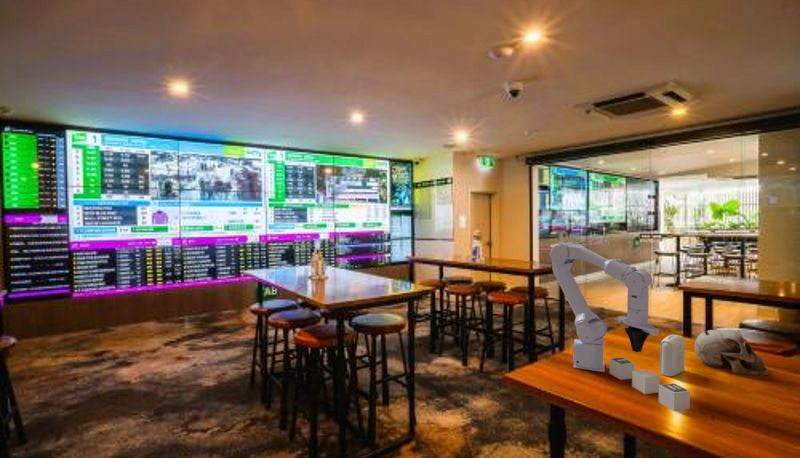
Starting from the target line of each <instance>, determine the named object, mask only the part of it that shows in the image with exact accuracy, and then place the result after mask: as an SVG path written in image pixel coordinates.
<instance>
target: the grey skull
mask: <svg viewBox="0 0 800 458" xmlns="http://www.w3.org/2000/svg"><path fill="white" fill-rule="evenodd" d="M694 342H695V343H694V354H695V355H696V356H697V357H698V358H700V360H701V361H702V363H703V364H705V365H706V366H707V365H708V366H711V367H713V368H720V369H721V368H722V369H726V368H727V369H729V370H731V373H733V374H742V375H747V376H758V377H761V376H762V377H764V376H771V371H770V370H769V369H768V368H767V367H765V363H764V361H763V359H762V357H760V356H759V355H758V354H756V353H755V350H754V348H753V349H752V345H750V344H749V342H748V341H747V339H746V338H744V337H743V335H742V334H740V333H739V332H736V331H734V330H730V329H710V330H709V329H708V330H706V331H703V332H701V333H700V334H699V335H698V336H697V338H696V339H695V341H694Z"/></svg>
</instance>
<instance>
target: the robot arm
mask: <svg viewBox="0 0 800 458" xmlns="http://www.w3.org/2000/svg"><path fill="white" fill-rule="evenodd" d="M549 257H550V259H551V264H552V265H551V268H552V274H554V276H555V279H556V280H557V283H558V284H559V286H560V288H561V290H562V292H563V295H564V296H565V298H566V300H567V302H568V303H569V307H570V308H571V309H572V312H573V314H574V316H575V319H574V326H575V328H576V334H577V338H575V339H574V340H573V354H572V360H573V368H574V369H582V370H587V371H594V372H601V373H605V368H606V367H605V362H604V345H605V344H604V337H605V336H606V335H607V333H608V326H607V325H606V323H604V321H602V319H600V317H599V316H598V315H597V314H596V313H595V312H594V311H592V310H591V308H590V306H589V304H588V302H587V300H586V298H585V296H584V295H583V292H582V291H581V288H580V287H579V286H578V283H577V281H576V280H575V278H574V275H573V274H572V272H571V268H572V266H573V263H574V262H575V261H576V260H583V261H585V262H587V263H590V264H592V265H594V266H597V267H599V268H601V269H603V271H604V274H605V275H608V276H610V277H611V278H613V279H615V280H616V281H619V282H620V283H622V284H624V285H625V286H626V288H627V303H626V304H627V305H626V307H627V310H626V313H627V314H626V315H627V316H623V315H622V316H618V318H617V319H618V321H617V322H618V323H619V324H623V325H626V326H628V327H625V328H624V331H625V333H626V335H627V336H628V339H629V343H630V346H631V349H632V351H633V352H634V353H640V352H642V351H643V347H644V345H645V342H646V341H647V338H648V337H649V336H653V337H655V336H659V335H660V329H659V328H657V327H655V326H654V325H652V324H651V322H650V321H649V306H650V305H649V304H650V303H649V302H650V301H649V297H650V295H649V291H650V290H649V289H650V288H649V286H650V285H651V284H652V283H653V282H652V281H653V277H652V275H651V274H650V272H648V271H646V270H645V269H641V268H640V269H637V267H636V266H631V265H629V264H626V263H624V262H622V261H623V260H622V259H621V258H611V259H607V258H605V257H603V256H602V255H600V254H598V253H596V252H595V251H593V250H591V249H589V248H587V247H585V246H583V245H582V244H579V243H577V242H574V241H568V242H564V243H563V242H562V243H559V242H558V243H555V244H554V245H552V248H551V250H550V252H549ZM578 338H579V339H578Z"/></svg>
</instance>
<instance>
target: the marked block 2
mask: <svg viewBox="0 0 800 458" xmlns="http://www.w3.org/2000/svg"><path fill="white" fill-rule="evenodd" d="M690 397H691V391H690V390H688V389H686V388H684V387H683V386H680V385H678V384H676V383H666V384H665V383H664V384H660V385H659V392H658V403H659V404H661V405H663V406H665V407H666V408H668V409H669V410H672V412H675V411H683V410H684V411H686V410H690V403H691V399H690Z"/></svg>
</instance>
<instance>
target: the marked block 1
mask: <svg viewBox="0 0 800 458" xmlns="http://www.w3.org/2000/svg"><path fill="white" fill-rule="evenodd" d="M632 371H635V362H632V361H631V360H629V359H627V358H625V357H617V358H616V357H615V358H614V357H613V358H609V374H610V375H612V376H613V377H615V378H617V379H619V380H630V379H631V380H632Z"/></svg>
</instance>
